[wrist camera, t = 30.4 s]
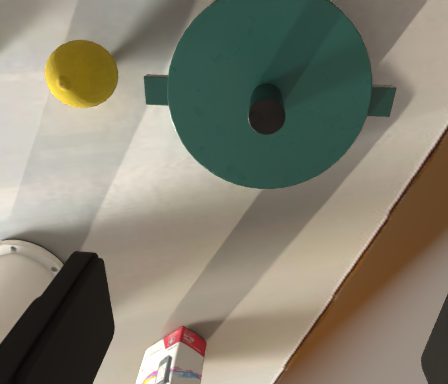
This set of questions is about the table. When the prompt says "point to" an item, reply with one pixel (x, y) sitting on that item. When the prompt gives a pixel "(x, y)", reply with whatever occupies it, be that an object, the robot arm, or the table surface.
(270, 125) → the lid
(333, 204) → the table surface
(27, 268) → the robot arm
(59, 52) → the lemon
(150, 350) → the ink box
